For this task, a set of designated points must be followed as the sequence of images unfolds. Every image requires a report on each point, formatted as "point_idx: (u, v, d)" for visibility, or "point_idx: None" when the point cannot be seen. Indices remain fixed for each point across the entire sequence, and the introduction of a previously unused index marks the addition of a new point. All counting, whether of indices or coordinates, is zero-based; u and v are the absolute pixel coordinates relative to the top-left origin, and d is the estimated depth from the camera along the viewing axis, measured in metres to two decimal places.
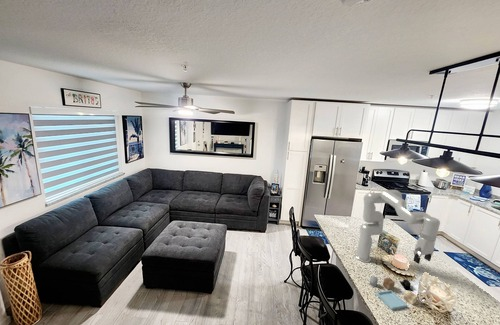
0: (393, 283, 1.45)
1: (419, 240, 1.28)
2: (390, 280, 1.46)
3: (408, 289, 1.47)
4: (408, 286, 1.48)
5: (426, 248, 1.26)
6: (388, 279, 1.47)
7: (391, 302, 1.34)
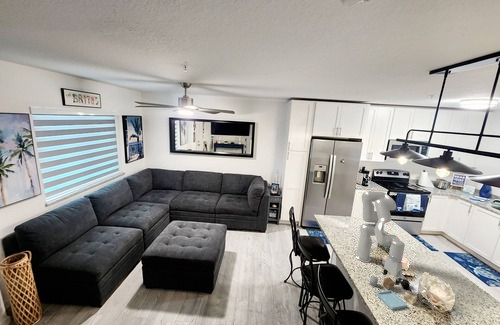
0: (393, 283, 1.45)
1: (399, 265, 1.38)
2: (390, 280, 1.46)
3: (406, 289, 1.47)
4: (407, 286, 1.48)
5: None
6: (388, 279, 1.47)
7: (391, 302, 1.34)
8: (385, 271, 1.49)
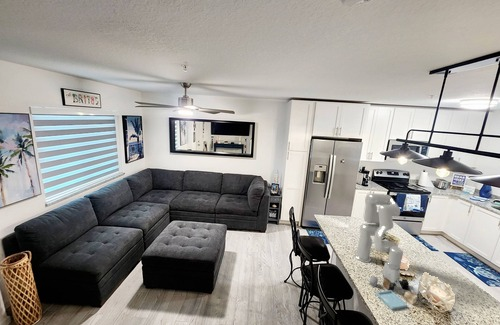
0: (393, 283, 1.45)
1: (396, 273, 1.40)
2: None
3: (406, 288, 1.47)
4: (406, 286, 1.48)
5: None
6: None
7: (391, 302, 1.34)
8: None
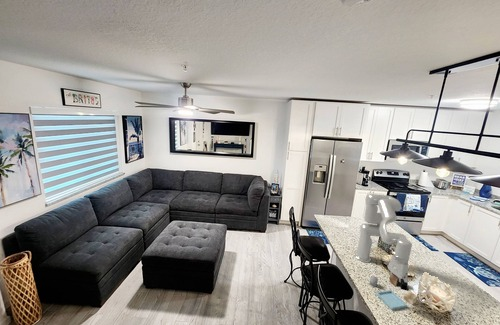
0: None
1: (405, 267, 1.26)
2: None
3: (404, 288, 1.47)
4: (405, 285, 1.48)
5: None
6: None
7: (391, 302, 1.34)
8: None
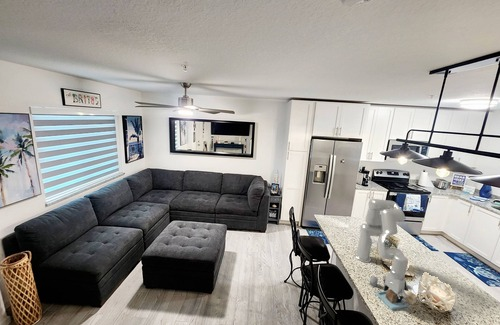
0: (397, 295, 1.33)
1: (401, 283, 1.28)
2: (393, 292, 1.35)
3: None
4: None
5: None
6: (391, 291, 1.36)
7: None
8: (386, 287, 1.39)
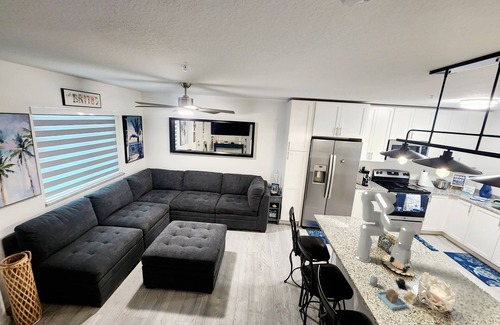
0: (397, 295, 1.33)
1: (407, 253, 1.30)
2: (393, 292, 1.35)
3: (402, 288, 1.47)
4: (403, 285, 1.48)
5: None
6: (391, 291, 1.36)
7: None
8: (392, 258, 1.42)
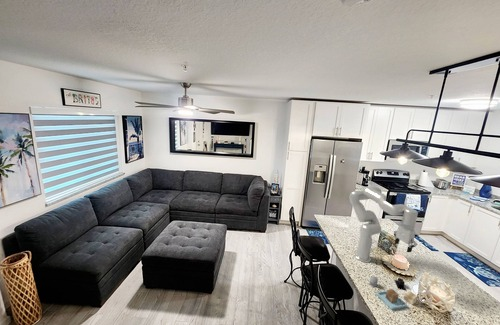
0: (397, 295, 1.33)
1: (411, 233, 1.40)
2: (393, 292, 1.35)
3: (401, 288, 1.48)
4: (402, 285, 1.48)
5: None
6: (391, 291, 1.36)
7: None
8: (397, 240, 1.52)
